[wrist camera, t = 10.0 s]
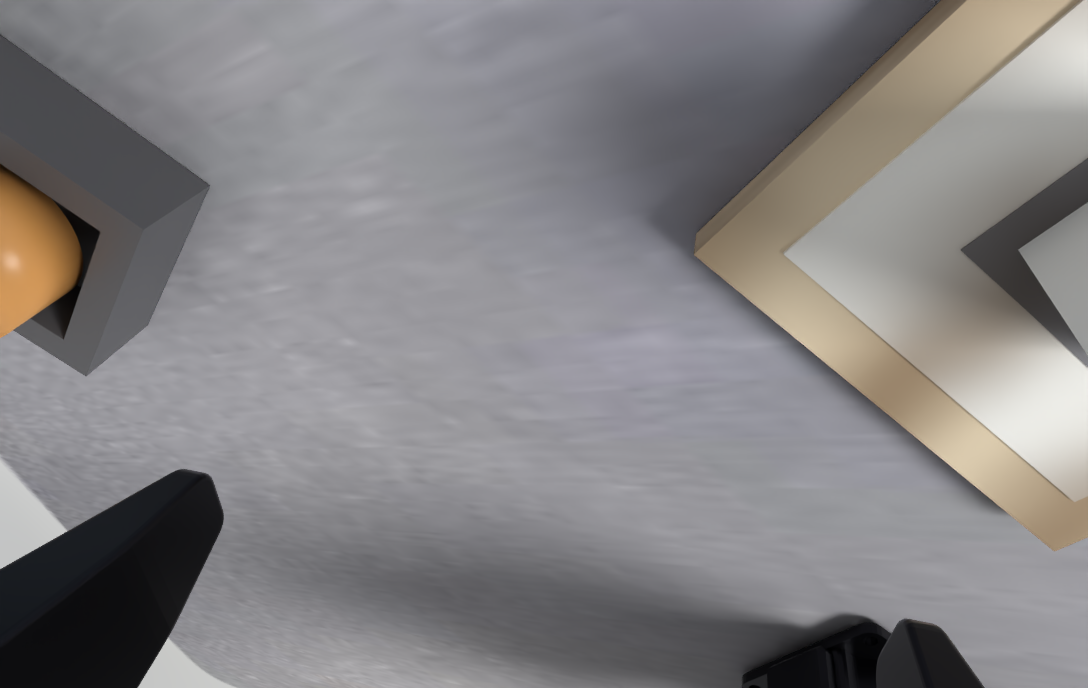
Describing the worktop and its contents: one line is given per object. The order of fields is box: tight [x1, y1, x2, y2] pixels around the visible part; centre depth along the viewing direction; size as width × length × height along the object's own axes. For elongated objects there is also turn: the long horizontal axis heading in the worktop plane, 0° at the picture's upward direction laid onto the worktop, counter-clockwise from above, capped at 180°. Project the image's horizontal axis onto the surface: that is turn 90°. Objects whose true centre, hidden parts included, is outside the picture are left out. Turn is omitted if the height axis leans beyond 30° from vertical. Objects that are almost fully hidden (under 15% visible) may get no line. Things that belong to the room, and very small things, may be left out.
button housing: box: [0, 35, 210, 376], centre depth 22 cm, size 7×7×3 cm
